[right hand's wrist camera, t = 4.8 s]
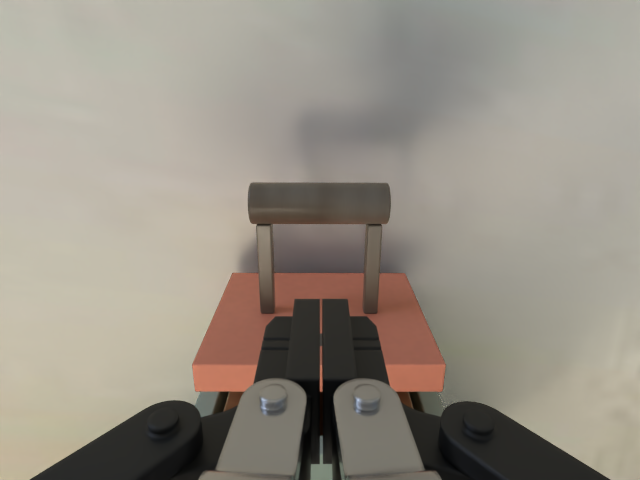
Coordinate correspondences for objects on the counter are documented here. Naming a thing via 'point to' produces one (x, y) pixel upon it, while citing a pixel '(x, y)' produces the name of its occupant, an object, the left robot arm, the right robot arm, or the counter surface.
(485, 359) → the counter surface
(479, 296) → the counter surface
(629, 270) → the counter surface
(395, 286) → the drawer
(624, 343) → the counter surface
